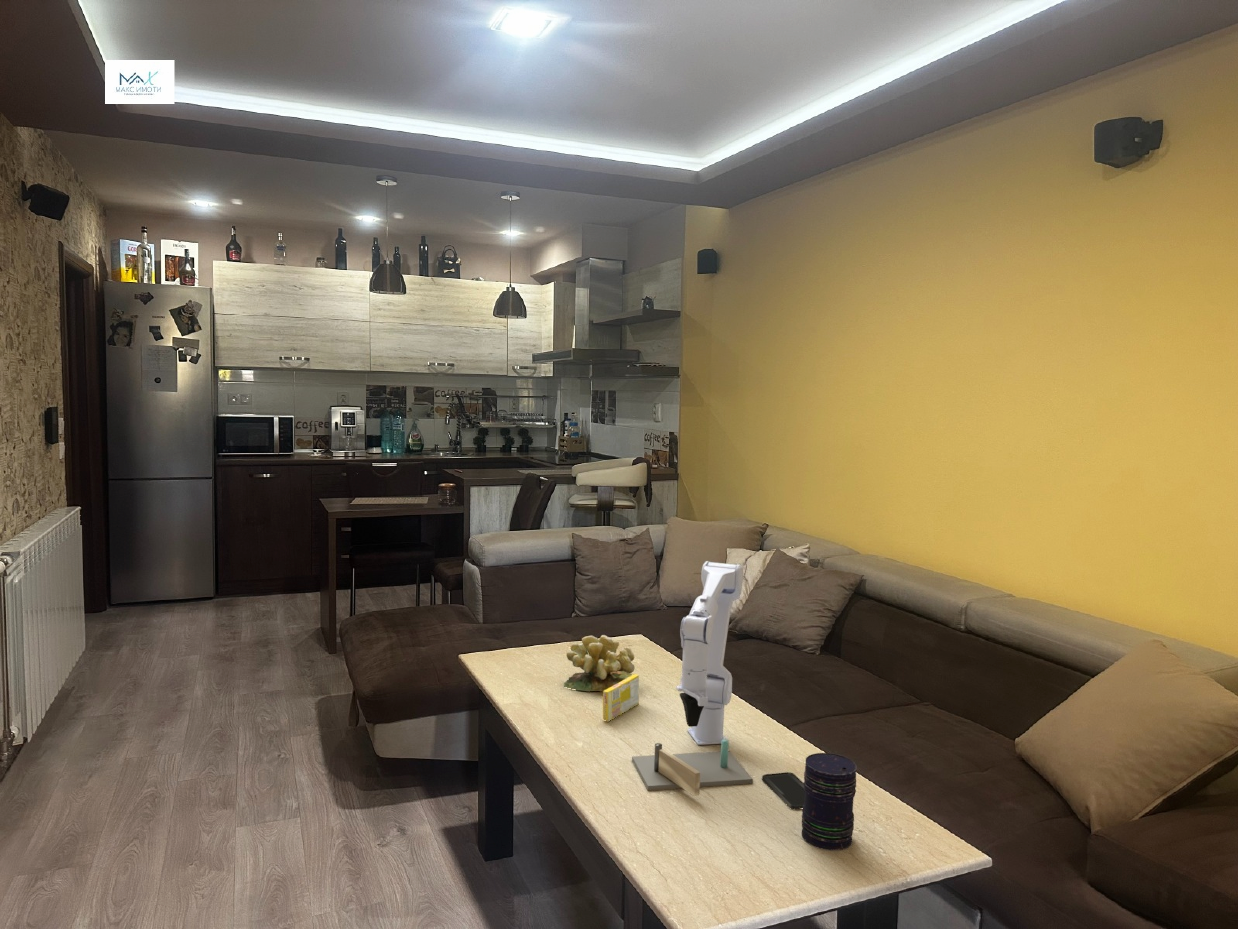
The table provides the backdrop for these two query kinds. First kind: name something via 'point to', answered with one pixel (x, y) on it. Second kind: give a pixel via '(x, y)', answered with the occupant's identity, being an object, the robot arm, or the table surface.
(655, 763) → the hinge post
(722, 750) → the latch post
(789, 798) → the phone
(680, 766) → the gate
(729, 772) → the gate board
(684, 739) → the table surface
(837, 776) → the storage jar
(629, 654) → the coral
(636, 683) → the candy box
